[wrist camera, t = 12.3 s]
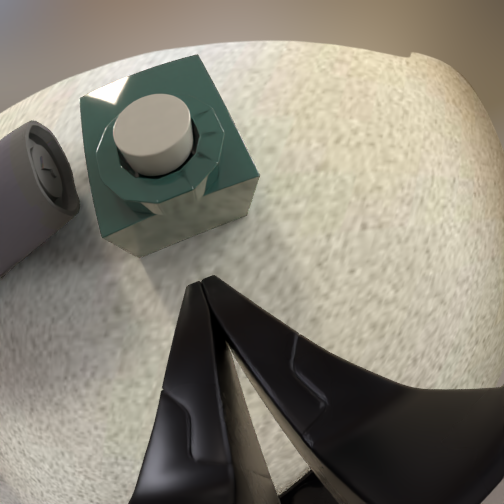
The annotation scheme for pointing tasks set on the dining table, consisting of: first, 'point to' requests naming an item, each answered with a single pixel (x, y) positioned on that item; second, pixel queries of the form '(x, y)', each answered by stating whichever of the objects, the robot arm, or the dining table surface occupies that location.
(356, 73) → the dining table surface
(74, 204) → the bluetooth speaker
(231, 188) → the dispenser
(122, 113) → the white push button
